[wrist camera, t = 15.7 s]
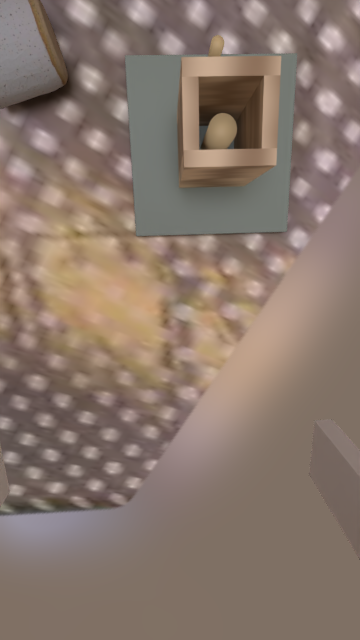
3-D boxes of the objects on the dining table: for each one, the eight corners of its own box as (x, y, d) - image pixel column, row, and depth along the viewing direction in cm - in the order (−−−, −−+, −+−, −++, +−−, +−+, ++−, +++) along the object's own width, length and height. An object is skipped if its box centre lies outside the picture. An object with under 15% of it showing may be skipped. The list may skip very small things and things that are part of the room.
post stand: (137, 236, 38) (129, 235, 30) (126, 63, 34) (113, 7, 26) (282, 231, 39) (313, 230, 31) (291, 61, 34) (330, 6, 26)
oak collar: (179, 187, 36) (183, 167, 25) (176, 113, 34) (181, 57, 23) (244, 186, 36) (276, 165, 25) (245, 112, 34) (281, 55, 23)
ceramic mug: (79, 97, 34) (55, 57, 27) (10, 121, 35) (-33, 88, 27) (40, -17, 32) (1, -96, 24) (-34, 10, 32) (-95, -60, 25)
